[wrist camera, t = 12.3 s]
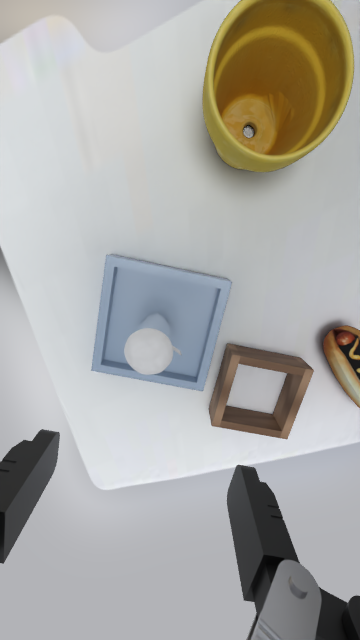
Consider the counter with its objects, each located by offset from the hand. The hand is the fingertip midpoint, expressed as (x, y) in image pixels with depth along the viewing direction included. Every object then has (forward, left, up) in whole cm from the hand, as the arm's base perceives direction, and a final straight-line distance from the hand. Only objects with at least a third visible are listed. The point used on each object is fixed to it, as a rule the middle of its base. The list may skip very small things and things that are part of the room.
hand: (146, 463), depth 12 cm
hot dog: (+1, +24, -23) cm, 33 cm away
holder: (+6, +13, -22) cm, 27 cm away
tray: (0, -1, -22) cm, 22 cm away
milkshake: (0, -1, -22) cm, 22 cm away
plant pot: (-22, +4, -23) cm, 32 cm away
